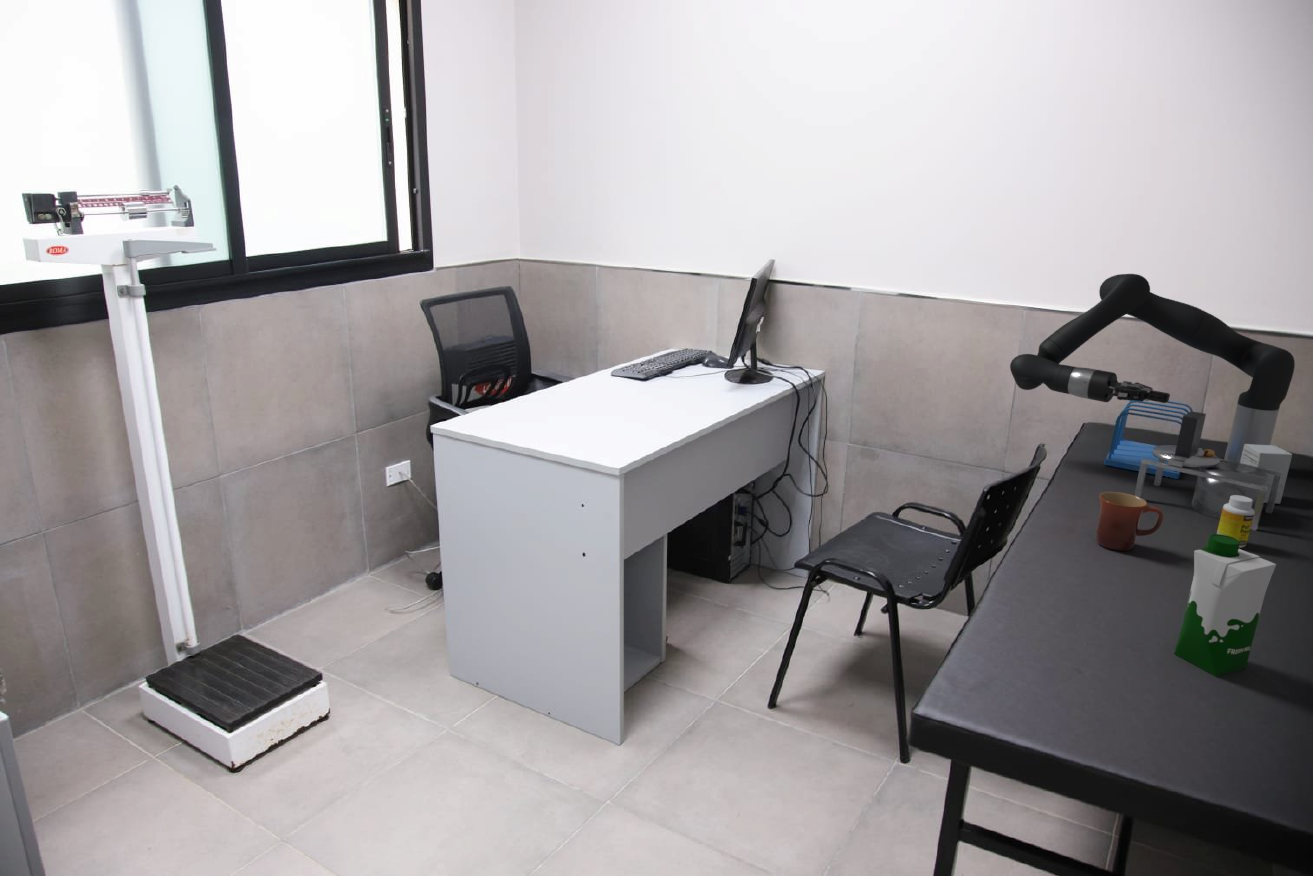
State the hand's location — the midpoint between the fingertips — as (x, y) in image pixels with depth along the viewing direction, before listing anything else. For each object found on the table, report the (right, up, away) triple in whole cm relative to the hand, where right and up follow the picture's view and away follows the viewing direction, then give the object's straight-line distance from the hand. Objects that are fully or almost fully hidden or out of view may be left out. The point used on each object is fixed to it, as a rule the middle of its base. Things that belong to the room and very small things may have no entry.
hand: (1168, 398), depth 206 cm
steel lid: (+4, -14, 0) cm, 15 cm away
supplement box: (+25, -24, +6) cm, 35 cm away
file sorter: (+12, -16, +32) cm, 38 cm away
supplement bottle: (0, -32, -22) cm, 39 cm away
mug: (-25, -32, -26) cm, 48 cm away
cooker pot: (+7, -25, -1) cm, 26 cm away
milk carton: (-34, -45, -68) cm, 89 cm away
